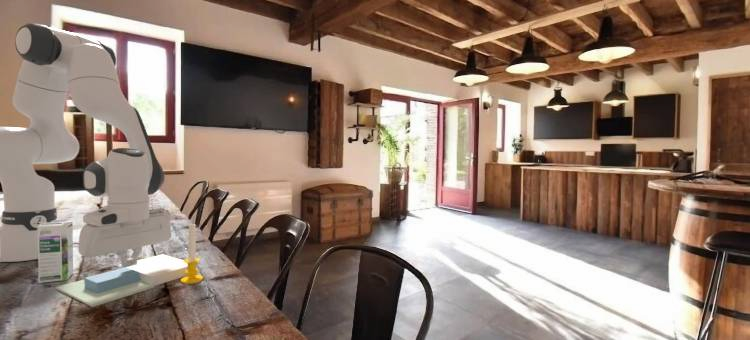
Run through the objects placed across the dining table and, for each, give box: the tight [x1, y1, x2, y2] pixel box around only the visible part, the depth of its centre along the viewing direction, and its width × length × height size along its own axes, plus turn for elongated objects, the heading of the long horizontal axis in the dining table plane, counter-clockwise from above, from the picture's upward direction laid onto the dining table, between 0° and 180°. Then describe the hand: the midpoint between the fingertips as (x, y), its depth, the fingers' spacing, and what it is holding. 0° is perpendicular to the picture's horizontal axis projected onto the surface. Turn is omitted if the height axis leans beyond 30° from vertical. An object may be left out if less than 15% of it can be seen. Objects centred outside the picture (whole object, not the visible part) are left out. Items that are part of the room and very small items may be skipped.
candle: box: [180, 221, 204, 285], centre depth 93 cm, size 5×5×16 cm
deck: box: [117, 253, 188, 287], centre depth 97 cm, size 16×12×2 cm
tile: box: [83, 267, 139, 294], centre depth 87 cm, size 6×9×2 cm, turn 152°
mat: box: [54, 279, 155, 308], centre depth 86 cm, size 18×13×1 cm
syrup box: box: [37, 220, 74, 284], centre depth 91 cm, size 6×6×14 cm
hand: (129, 265), depth 91 cm, fingers closed
